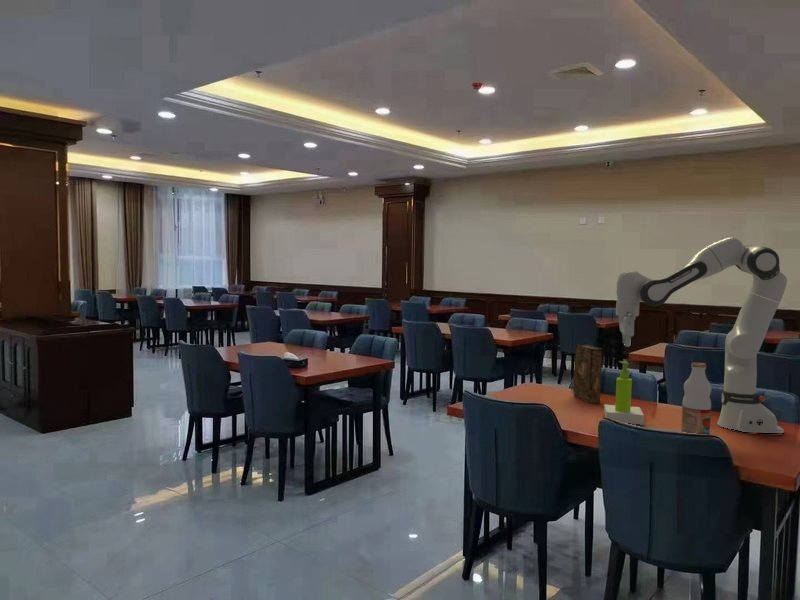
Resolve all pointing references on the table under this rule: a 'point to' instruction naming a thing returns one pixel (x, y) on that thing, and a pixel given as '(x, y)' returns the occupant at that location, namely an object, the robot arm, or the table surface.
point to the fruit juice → (696, 402)
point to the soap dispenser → (623, 390)
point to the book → (588, 373)
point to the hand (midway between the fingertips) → (626, 345)
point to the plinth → (624, 414)
